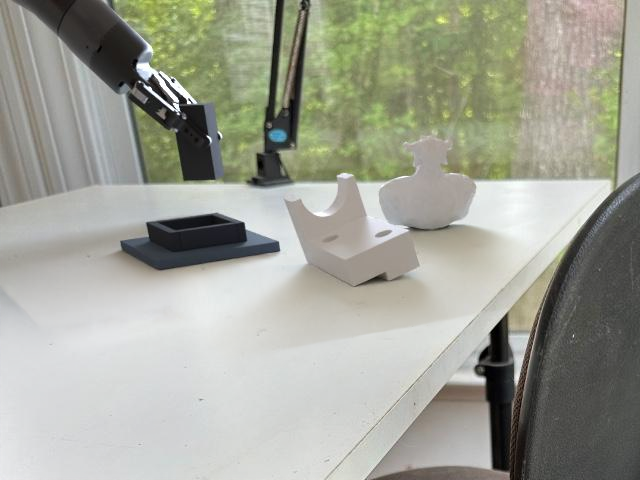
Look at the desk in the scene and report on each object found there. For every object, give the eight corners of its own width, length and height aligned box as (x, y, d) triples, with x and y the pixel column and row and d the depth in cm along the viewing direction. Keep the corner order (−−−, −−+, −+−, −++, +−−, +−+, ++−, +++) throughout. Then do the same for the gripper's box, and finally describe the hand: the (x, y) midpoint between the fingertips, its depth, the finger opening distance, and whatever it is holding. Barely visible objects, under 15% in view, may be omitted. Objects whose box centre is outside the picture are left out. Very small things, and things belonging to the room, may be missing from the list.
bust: (383, 250, 110) (386, 178, 99) (373, 201, 112) (375, 126, 101) (478, 242, 111) (491, 170, 101) (466, 194, 114) (478, 120, 103)
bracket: (310, 270, 96) (283, 198, 91) (367, 244, 98) (344, 172, 93) (357, 295, 86) (330, 216, 82) (420, 266, 88) (397, 187, 83)
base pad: (121, 249, 105) (115, 222, 103) (234, 233, 111) (230, 206, 109) (158, 270, 95) (152, 240, 93) (280, 250, 101) (276, 222, 99)
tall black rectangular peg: (183, 180, 122) (170, 105, 118) (193, 176, 126) (181, 103, 121) (215, 180, 122) (203, 104, 117) (224, 175, 126) (213, 102, 121)
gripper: (112, 66, 124) (212, 161, 129) (68, 70, 112) (181, 174, 117) (141, 19, 121) (243, 118, 126) (99, 18, 109) (213, 127, 114)
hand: (212, 144), depth 122 cm, fingers closed on tall black rectangular peg, 4 cm apart
